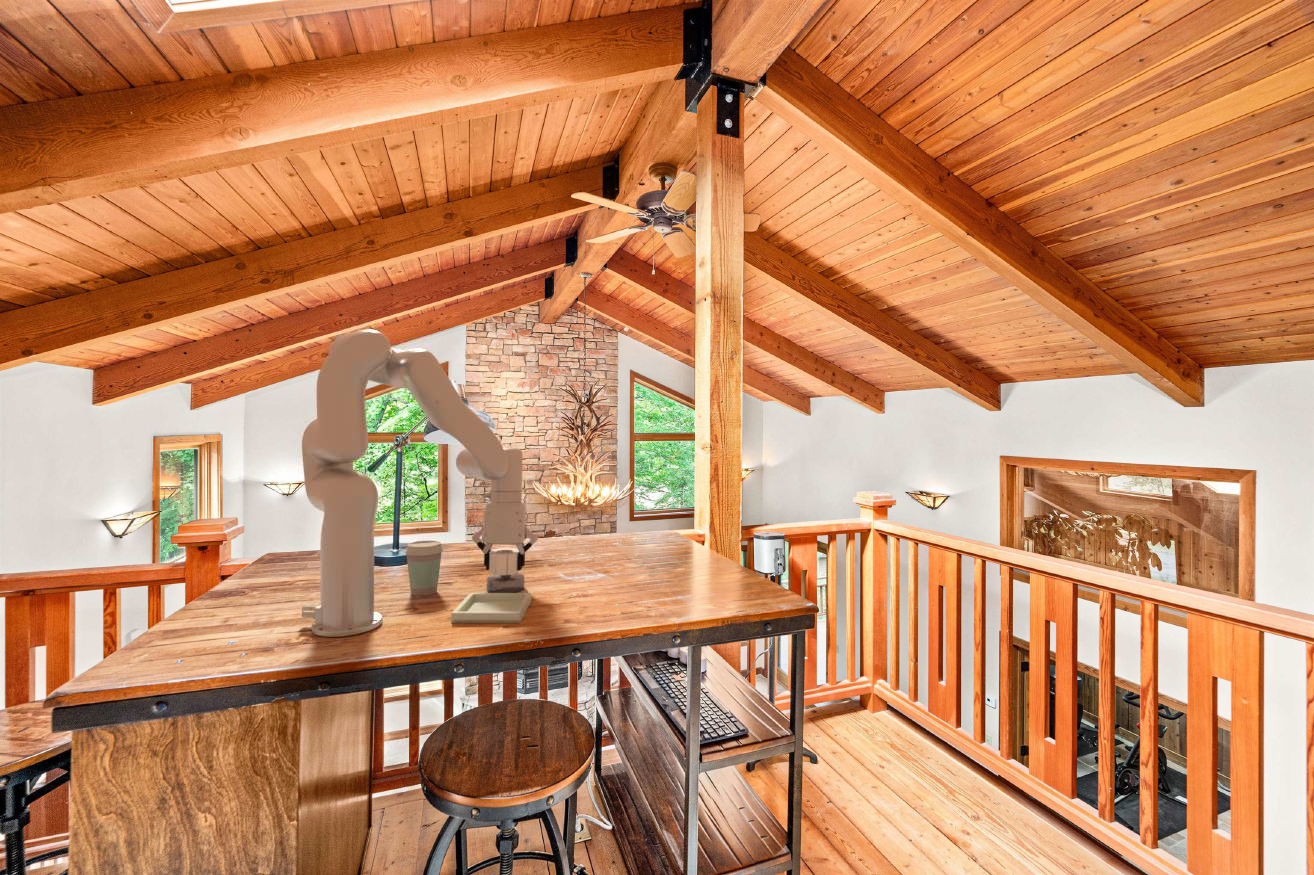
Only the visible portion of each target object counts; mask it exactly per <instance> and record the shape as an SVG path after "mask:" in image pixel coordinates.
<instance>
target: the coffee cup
mask: <svg viewBox="0 0 1314 875" xmlns="http://www.w3.org/2000/svg"><path fill="white" fill-rule="evenodd" d="M441 543H442V542H441V541H439V540H428V539H427V540H417V541H411V542H409V543H408V544H406V545H407V546H406V548H405V551H404V553H405V555H406V561H407V569H408V570H407V571H408V579H409V580H408V581H409V588H410V594H411V596H414V597H426V596H427V595H428V596H432V595H435V594H436V593H437V591H438V585H439V577H440V568H441V561H442V553H443V551H444V550H443V547H442V544H441Z"/></svg>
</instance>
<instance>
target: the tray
mask: <svg viewBox="0 0 1314 875" xmlns="http://www.w3.org/2000/svg"><path fill="white" fill-rule="evenodd" d="M531 603H532V592H518V593H489V592H470V593H469V594H467V596H466V597H465V598H464V599H463V600H462V601H461V602H460V603H459V604H458V605H457V606H456V607H455V608H454V610H452V612H451V614H450V622H452V623H451V624H520V623H521V622H522V619H523V617H524V615H525V614H526V612H527V610H528V609H529V606H530V605H531ZM527 608H528V609H527Z"/></svg>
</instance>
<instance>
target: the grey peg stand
mask: <svg viewBox="0 0 1314 875" xmlns="http://www.w3.org/2000/svg"><path fill="white" fill-rule="evenodd" d="M522 590H523V591H524V590H525V575H524V574H523V573H519V572H518V573H516V574H511V575H494V574H490V575H488V576H487V577H486V593H522Z"/></svg>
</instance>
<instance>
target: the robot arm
mask: <svg viewBox="0 0 1314 875" xmlns="http://www.w3.org/2000/svg"><path fill="white" fill-rule="evenodd" d="M331 342H332V343H331V344H330V345H329V349H328V355H327V357H326V358H325V359H324V362H323V363H322V365H321V367H320V369H319V372H318V375H317V380H316V419H313V420H312V421H311V422H309V424H308V425H307V426H306V428H305V429H304V432H303V435H302V440H301V453H302V454H301V455H302V466H303V467H302V468H303V478H304V488H305V494H306V497H307V499H308V500H309V501H308V502H310V504H311V505H312V506H313V507H314V508H316V509H317V510H318V511H321V512H323V520H322V524H321V525H322V526H321V530H320V604H319V605H315V604H314V605H313V604H306V605H303V606H302V609H301V618H304V619H309V618H313V619H314V622H312V624H311V632H312V633H313V635H315V636H320V637H324V638H326V637H327V638H328V637H329V638H336V637H337V638H338V637H349V636H355V635H359V634H363V633H366V632H369V631H371V630H375V629H376V628H378V627H379V626H380V625H382V623H383V615H382V614H381V613H380V612H377V611H375V527H376V526H375V523H376V518H377V511H378V503H379V491H378V489H377V486H376V483H375V482H374V481H373V479H372V478H371V477H370V476H368V474H365V473H363V472H361V471H358V470H354V462H357V461H360V459H362V458H363V457H364V456H365V455H366V452H367V450H368V447H369V433H368V424H367V423H368V422H367V412H366V390H367V389H366V388H367V386H368V384H369V382H373V383H378V384H382V385H385V386H389V387H393V388H399V389H408V392H410V394H411V395H412V397H413V398H414V399H415V401H416V403H417V404H418V405H419V407H420V410H422V412H423V414H424V415H425V417H426V418H427V420H428V421H429V422H430V423H431V424H432V425H433V426H434V427H435V428H437V429H438V430H440V431H442V432H443V433H445V434H447V435H449V436H451V437H452V438H454V439H456V441H457V442H459V443H460V444H461V446H463V447H464V449H462V450H461V451H460V452H459V453H458V455H457V456H456V459H455V465H456V468H457V471H459V473H460V474H462V475H463V476H465V477H467V478H472V479H478V480H479V479H480V480H487V481H490V490H489V491H488V492H487V491H486V492H484V498H485V499H488V500H489V501H488V502H486V505H485V510H484V514H483V524H482V528H480V529H479V531H477V532H476V533H475V534H473V535H472V537H471V540H472V541H473V542H474V543H475V544H476V546H477V547H478V548H479V549H480V550H481V552H482V553H483V566H485V570H486V571H489V559H490V554H489V552H490V551H491V550H492V547H493V545H506V546H507V545H509V546H510V545H515V546H516V547H517V550H519V554H518V556H517V570H519V571H521V570H522V569H523V567H525V564H526V562H525V560H526V552H527V551H529V550H530V549H531V548H532V546H533V545H534V544H535V543H536V542H537V541H538V539H539V537H538V536H537V535H536V534H535V533H534V532H533V531H532V530H531V529H530V528H528V527H527V514H526V506H525V502H522V498H523V495H522V492H523V490H522V489H523V460H524V459H523V451H522V450H521V449H520V448H518V447H504V446H503V445H502V444H501V442H500V440H499V438H498V437H497V435H496V434H495V433H494V431H493V430H492V429H491V427H489V425H488V424H487V423H486V422H485V421H484V420H482V419H481V418H480V417H479V415H477V414H476V413H475V412H474V411H473V410H472V409H471V408H469V406H468V405H467V404H466V403H465V402H464V400H463V399H462V398H461V396H460V395H459V393H458V391H457V390H456V387H455V386H454V384H453V383H452V381H451V380H450V378H449V377H448V374H447V372H446V371H445V370H444V368H443V366H442V365H441V363H440V361H439V360H438V359H437V357H436V356H435V354H433V353H432V352H430V350H426V349H423V348H410V349H405V350H401V349H397V348H393V347H392V345H391V342H390V340H389V338H388V337H387V336H386V335H385V334H384V333H382V332H380V331H378V330H375V329H361V330H356V331H353V332H349V333H345V334H343V335H340V336H338V337H337V338H335V339H334V340H333V341H331ZM527 537H528V538H529V539H530V540H529V541H528V542H527V543H526V544H525V543H524V541H526V538H527ZM481 538H482V539H481Z"/></svg>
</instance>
